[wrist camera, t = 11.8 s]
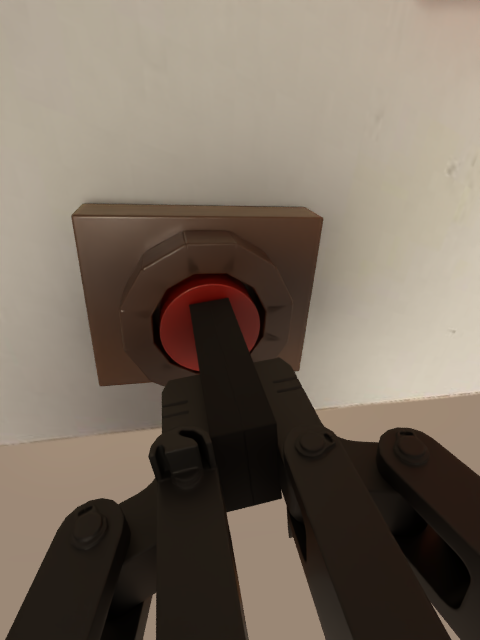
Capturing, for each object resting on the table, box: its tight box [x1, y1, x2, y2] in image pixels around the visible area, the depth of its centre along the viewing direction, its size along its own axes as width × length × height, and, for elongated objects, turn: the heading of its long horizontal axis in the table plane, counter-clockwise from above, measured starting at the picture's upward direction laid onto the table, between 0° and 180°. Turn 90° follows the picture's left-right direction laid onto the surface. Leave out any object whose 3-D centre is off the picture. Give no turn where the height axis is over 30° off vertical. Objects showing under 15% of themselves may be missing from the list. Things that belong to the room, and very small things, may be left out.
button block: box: [72, 204, 323, 386], centre depth 16 cm, size 8×10×4 cm
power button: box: [160, 273, 260, 371], centre depth 15 cm, size 4×4×2 cm
